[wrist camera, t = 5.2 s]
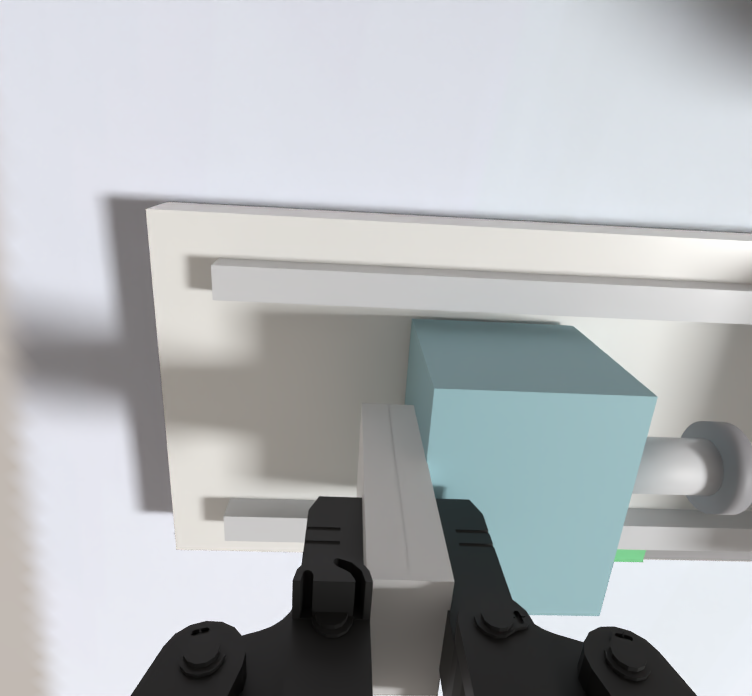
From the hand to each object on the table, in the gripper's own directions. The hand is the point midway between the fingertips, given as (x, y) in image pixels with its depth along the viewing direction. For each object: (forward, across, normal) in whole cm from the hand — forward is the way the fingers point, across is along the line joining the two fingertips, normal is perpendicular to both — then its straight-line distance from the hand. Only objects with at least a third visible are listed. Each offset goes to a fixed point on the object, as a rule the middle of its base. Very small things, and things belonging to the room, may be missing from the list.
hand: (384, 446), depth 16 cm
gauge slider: (+2, +5, -1) cm, 6 cm away
